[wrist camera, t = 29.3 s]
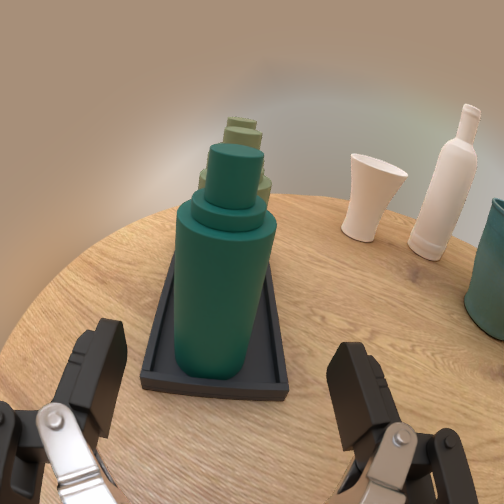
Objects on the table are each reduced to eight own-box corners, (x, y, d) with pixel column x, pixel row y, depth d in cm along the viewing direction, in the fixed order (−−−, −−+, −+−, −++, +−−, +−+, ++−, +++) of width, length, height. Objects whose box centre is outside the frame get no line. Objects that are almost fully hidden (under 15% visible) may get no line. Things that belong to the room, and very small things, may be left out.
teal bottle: (164, 370, 22) (163, 151, 13) (187, 321, 27) (203, 133, 18) (236, 391, 22) (288, 174, 13) (250, 338, 27) (293, 150, 18)
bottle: (447, 262, 50) (499, 120, 34) (421, 261, 48) (476, 103, 33) (425, 241, 57) (469, 110, 41) (399, 238, 55) (445, 95, 39)
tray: (283, 401, 22) (289, 390, 21) (142, 388, 21) (139, 376, 20) (263, 249, 42) (265, 238, 41) (181, 240, 41) (181, 228, 40)
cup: (367, 254, 46) (395, 177, 39) (319, 225, 52) (339, 152, 45) (391, 241, 53) (415, 175, 46) (348, 216, 59) (367, 154, 52)
